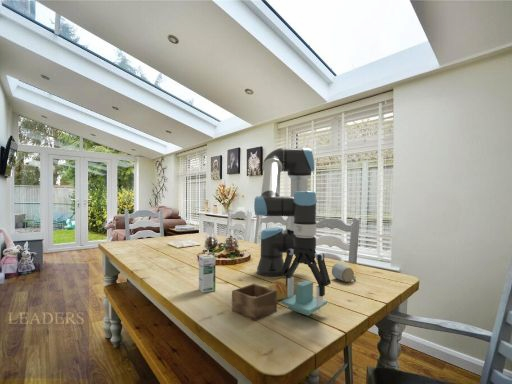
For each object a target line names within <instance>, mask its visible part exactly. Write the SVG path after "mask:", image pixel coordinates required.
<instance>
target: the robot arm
mask: <svg viewBox="0 0 512 384" xmlns="http://www.w3.org/2000/svg"><path fill="white" fill-rule="evenodd" d="M262 171H263V177H262V186H261V193H260V195H259V196H256V197H254V203H253V204H254V206H253V208H254V210H253V211H254V214H255V215H256V216H260V217H262V216H263V217H289V218H290V219H289V225H288V226H287V227H286V230H284V228H283V227H281V226H280V227H269V228H265V229H263V230H261V232H260V238H259V239H260V259H259V261H258V265H257V269H256V272H257V274H259V275H260V276H264V277H281V276H284V277H285V279H286V286H287V297H291V296H294V295H295V294H294V282H295V280H294V279H295V277H294V276H293V275H294V273H295V271H296V269H298V267H299V265H300V264H304V265H306V266H308V267H309V269H310V270H311V273H312V275H313V276H314V278H315V281H316V283H317V284H318V285H316V286H315V287H316V288H315V289H316V290H315V291H316V293H315V295H316V296H315V297H316V306H317V307H319V306H321V305H323V300H324V299H323V298H324V296H325V295H326V287H327V286H329V285H331V284H332V283H331V282H332V281H331V279H330V275H329V272H328V268H327V266H326V261H325V254H324V253H317V252H316V248H317V238H316V235H317V193H316V192H315V191H314V190H308V188H309V186H308V185H309V178H310V177H311V176H312V173H313V172H315V160H314V154H313V150H312V149H311V148H310V147H308V148H307V147H280V148H277V149H274V150H272V151H271V152H270V153H268V155H267V156H266V157H265V158H264V160H263V162H262ZM282 172H284V173H285V172H287V177H289V178H290V196H281V193H280V192H281V191H280V190H281V173H282ZM284 254H286V256H285V259H284V258H283V257H284ZM293 257H294V259H293Z"/></svg>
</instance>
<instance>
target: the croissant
mask: <svg viewBox="0 0 512 384" xmlns="http://www.w3.org/2000/svg"><path fill="white" fill-rule="evenodd" d="M298 283H299V282H298V281H297V282H296V281H294V295H296V284H298ZM269 289H273V290H276V291H277V301H283V300H285V299H287V298H289V297H287V286H286V277H285V278H279V279H278V278H277V279H275V280H274V281H273V282H272V284H271V285H270V286H269ZM291 297H292V296H291Z"/></svg>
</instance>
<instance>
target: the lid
mask: <svg viewBox="0 0 512 384" xmlns="http://www.w3.org/2000/svg"><path fill="white" fill-rule="evenodd" d="M297 283H298V284H296V293H295V294H294V296H292V297H289V298H287V299H284V300H281V305H283V306H286V307H287V308H288V309H287V310H291V311H294V312H296V313H299V314H302V315H305V316H309V315H312V314H313V313H315V312H317V311H319V310H321V308H322V307H324V306H326V305H328V301H327V300H325V299H323V305H321V306H319V307H317V306H316V296H314V282H313V281H310V280H303V281H301V282H297Z"/></svg>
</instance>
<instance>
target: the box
mask: <svg viewBox="0 0 512 384" xmlns="http://www.w3.org/2000/svg"><path fill="white" fill-rule="evenodd" d="M269 288H270V287H269ZM269 288H268V287H266V286H262V285H260V284H256V283H253V284H252V283H251V284H249V285H246V286H242V287H240V288H236V289H234V290H231V293H232V295H231V297H232V298H231V311H232V312H234V313H235V314H237V315H240V316H242V317H245V318H247V319H249V320H251V321H254V322H256V321H258V320H260V319H262V318H265V317H266V316H269V315H271V314H273V313H275V312H277V311H278V310H277V307H278V306H277V305H278V303H277V302H278V300H277V291H276V290H273V289H269ZM253 296H256V297H253Z"/></svg>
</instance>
